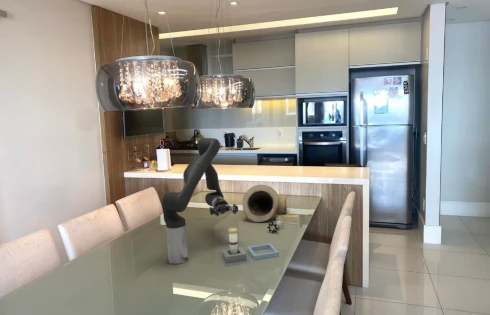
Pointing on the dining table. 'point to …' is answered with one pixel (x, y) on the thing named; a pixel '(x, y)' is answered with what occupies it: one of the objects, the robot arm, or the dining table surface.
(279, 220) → the valve
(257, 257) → the parts tray
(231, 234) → the capped white cylinder
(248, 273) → the dining table surface
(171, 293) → the dining table surface
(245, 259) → the block
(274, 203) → the pipe
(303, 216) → the dining table surface
